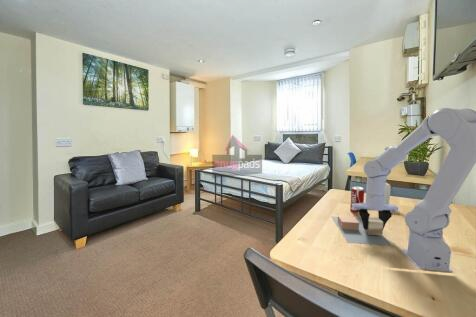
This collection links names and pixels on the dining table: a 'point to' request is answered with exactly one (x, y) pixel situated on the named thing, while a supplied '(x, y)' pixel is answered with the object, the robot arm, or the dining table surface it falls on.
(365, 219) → the robot arm
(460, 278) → the dining table surface
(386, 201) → the photo printer
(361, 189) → the soda can
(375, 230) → the maple block
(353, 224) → the base block
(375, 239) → the blue-grey rectangular mat
